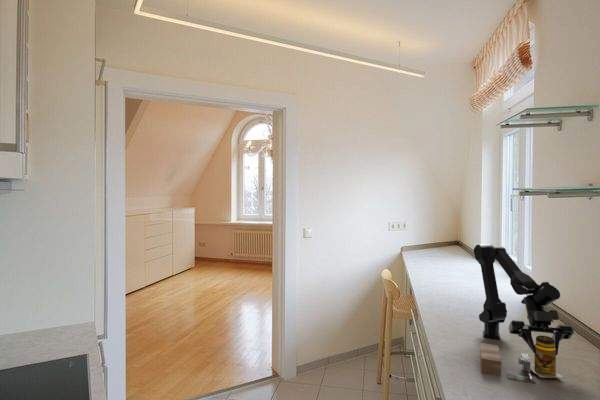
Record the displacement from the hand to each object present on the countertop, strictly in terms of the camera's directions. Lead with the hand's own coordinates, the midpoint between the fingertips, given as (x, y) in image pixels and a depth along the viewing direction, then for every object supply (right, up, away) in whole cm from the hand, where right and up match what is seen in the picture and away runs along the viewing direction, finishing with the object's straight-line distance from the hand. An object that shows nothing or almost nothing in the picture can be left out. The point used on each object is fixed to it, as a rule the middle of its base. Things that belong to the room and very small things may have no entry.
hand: (545, 353), depth 126 cm
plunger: (-6, -7, +2) cm, 9 cm away
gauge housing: (-10, -8, +6) cm, 14 cm away
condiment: (0, -7, +2) cm, 7 cm away
